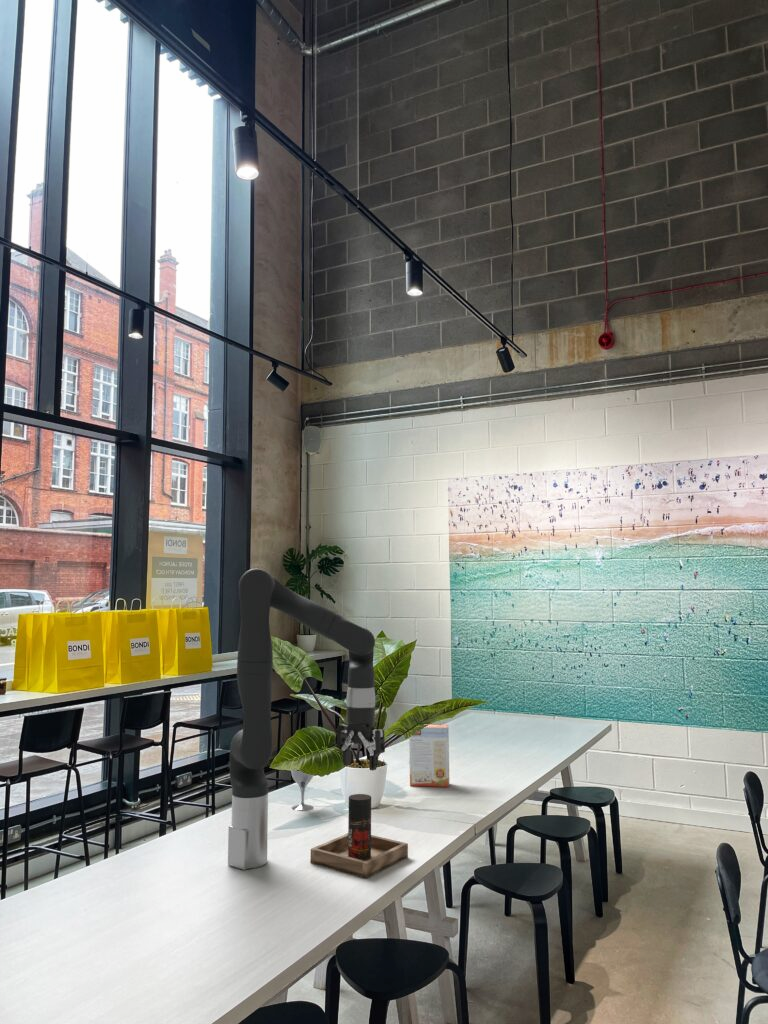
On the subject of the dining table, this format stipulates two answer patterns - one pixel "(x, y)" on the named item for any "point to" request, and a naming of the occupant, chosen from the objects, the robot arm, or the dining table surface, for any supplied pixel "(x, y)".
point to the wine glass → (302, 788)
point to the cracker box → (430, 756)
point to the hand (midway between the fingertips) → (360, 767)
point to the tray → (337, 859)
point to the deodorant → (359, 827)
